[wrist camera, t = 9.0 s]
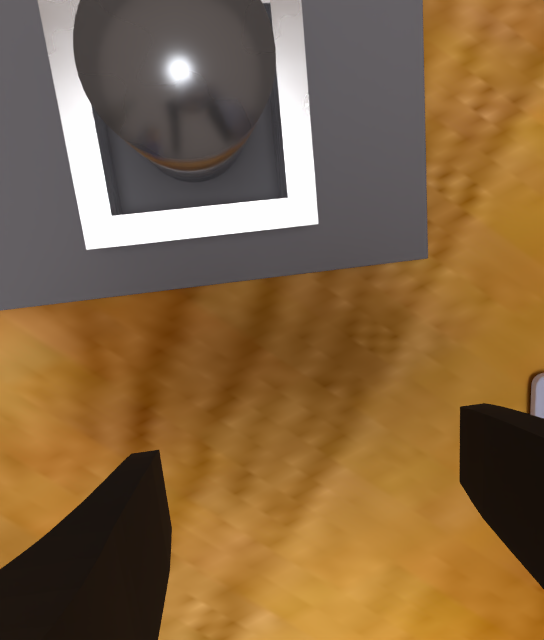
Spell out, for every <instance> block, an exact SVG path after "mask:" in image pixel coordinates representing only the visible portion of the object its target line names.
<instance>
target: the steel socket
mask: <svg viewBox="0 0 544 640" xmlns="http://www.w3.org/2000/svg"><path fill="white" fill-rule="evenodd" d="M261 1H262V3H263V5H264V7H265V9H266V12H267V14H268V17H269V19H270V23H271V27H272V30H273V34H274V41H275V47H276V68H275V77H274V82H273V87H272V91H271V93H270V104H271V114H272V125H273V136H274V146H275V157H276V167H277V178H278V188H279V199H272V200H262V201H253V202H243V203H234V204H224V205H214V206H205V207H195V208H185V209H176V210H166V211H157V212H147V213H137V214H128V215H122V212H121V206H120V200H119V195H118V189H117V183H116V178H115V172H114V166H113V160H112V155H111V149H110V143H109V138H108V132H107V126H106V123H105V122H104V121H103V120H102V119H101V118H100V116H99V115H98V114H97V112H96V111H95V109H94V108H93V106H92V105H91V103H90V101H89V100H88V98H87V96H86V94H85V92H84V90H83V87H82V84H81V82H80V79H79V77H78V73H77V69H76V65H75V59H74V51H73V29H74V21H75V16H76V12H77V8H78V4H79V2H80V0H38V5H39V11H40V16H41V21H42V26H43V31H44V36H45V41H46V46H47V51H48V56H49V61H50V66H51V71H52V77H53V82H54V87H55V92H56V97H57V102H58V107H59V112H60V117H61V122H62V127H63V132H64V137H65V143H66V148H67V153H68V158H69V163H70V168H71V173H72V178H73V183H74V188H75V193H76V198H77V204H78V209H79V214H80V219H81V224H82V229H83V234H84V239H85V244H86V249H87V250H88V249H97V248H106V247H115V246H124V245H133V244H142V243H151V242H160V241H169V240H178V239H187V238H196V237H205V236H214V235H223V234H232V233H241V232H250V231H259V230H268V229H277V228H286V227H295V226H304V225H313V224H318V212H317V199H316V186H315V173H314V160H313V147H312V134H311V121H310V107H309V94H308V81H307V68H306V55H305V42H304V29H303V16H302V3H301V0H261Z"/></svg>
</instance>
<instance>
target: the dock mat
mask: <svg viewBox="0 0 544 640" xmlns="http://www.w3.org/2000/svg"><path fill="white" fill-rule="evenodd" d="M301 3H302V16H303V29H304V42H305V55H306V68H307V81H308V94H309V107H310V121H311V134H312V147H313V160H314V173H315V186H316V199H317V212H318V224H313V225H304V226H295V227H286V228H277V229H268V230H259V231H250V232H241V233H232V234H223V235H214V236H205V237H196V238H187V239H178V240H169V241H160V242H151V243H142V244H133V245H124V246H115V247H106V248H97V249H88V250H87V249H86V244H85V239H84V234H83V229H82V224H81V219H80V214H79V209H78V204H77V198H76V193H75V188H74V183H73V178H72V173H71V168H70V163H69V158H68V153H67V148H66V143H65V137H64V132H63V127H62V122H61V117H60V112H59V107H58V102H57V97H56V92H55V87H54V82H53V77H52V71H51V66H50V61H49V56H48V51H47V46H46V41H45V36H44V31H43V26H42V21H41V16H40V11H39V5H38V0H0V310H8V309H16V308H24V307H32V306H41V305H49V304H57V303H65V302H73V301H82V300H90V299H98V298H106V297H114V296H123V295H131V294H139V293H147V292H156V291H164V290H172V289H180V288H188V287H197V286H205V285H213V284H221V283H229V282H238V281H246V280H254V279H262V278H270V277H279V276H287V275H295V274H303V273H312V272H320V271H328V270H336V269H344V268H353V267H361V266H369V265H377V264H385V263H394V262H402V261H410V260H418V259H426V258H428V239H427V192H426V144H425V96H424V49H423V1H422V0H301ZM106 126H107V124H106ZM107 132H108V138H109V143H110V149H111V155H112V160H113V166H114V172H115V178H116V183H117V189H118V195H119V200H120V206H121V212H122V215H128V214H137V213H147V212H157V211H166V210H176V209H185V208H195V207H205V206H214V205H224V204H234V203H243V202H253V201H262V200H272V199H279V188H278V178H277V167H276V157H275V146H274V136H273V125H272V114H271V104H270V96H269V99H268V102H267V104H266V106H265V108H264V110H263V112H262V114H261V116H260V118H259V120H258V121H257V123H256V125H255V127H254V129H253V131H252V132H251V134H250V136H249V138H248V140H247V142H246V143H245V145H244V147H243V149H242V151H241V153H240V154H239V156H238V158H237V159H236V161H235V162H234V163H233V165H232V166H231V167H230V168H229V169H228V170H226V171H225V172H224V173H223V174H221V175H219V176H218V177H215V178H213V179H210V180H207V181H202V182H185V181H181V180H177V179H175V178H172V177H170V176H168V175H166V174H164V173H163V172H162V171H160V170H159V169H158V168H156V167H155V166H154V165H153V164H152V163H150V162H149V161H148V160H147V159H146V158H144V157H143V156H142V155H141V154H140V153H138V152H137V151H136V150H135V149H134V148H132V147H131V146H130V145H129V144H128V143H126V142H125V141H124V140H123V139H122V138H121V137H119V136H118V135H117V134H116V133H115V132H114V131H113V130H112V129H110V128H109V127H108V126H107Z"/></svg>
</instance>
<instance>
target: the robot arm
mask: <svg viewBox="0 0 544 640" xmlns="http://www.w3.org/2000/svg"><path fill="white" fill-rule="evenodd" d="M460 483H461V485H462V487H463V488H464V490H465V491H466V493H467V495H468V496H469V498H470V500H471V501H472V503H473V504H474V506H475V507H476V509H477V510H478V512H479V513H480V515H481V516H482V518H483V519H484V520H485V521H486V522H487V524H488V525H489V526H490V527H491V528H492V530H493V531H494V532H495V533H496V534H497V536H498V537H499V538H500V539H501V540H502V541H503V543H504V544H505V545H506V546H507V547H508V548H509V550H510V551H511V552H512V553H513V554H514V555H515V557H516V558H517V559H518V560H519V561H520V562H521V563H522V565H523V566H524V567H525V568H526V569H527V570H528V572H529V573H530V574H531V575H532V576H533V577H534V578H535V580H536V581H537V582H538V583H539V584H540V585H541V587H542V588H543V589H544V373H541V374H538V375H537V376H535V377H534V379H533V381H532V384H531V411H530V414H527V413H524V412H520V411H516V410H513V409H509V408H505V407H501V406H496V405H491V404H485V403H483V404H476V405H469V406H462V407H460ZM171 534H172V527H171V520H170V514H169V508H168V502H167V496H166V490H165V483H164V477H163V471H162V465H161V459H160V453H159V450H154V451H147V452H140V453H133V454H131V455H130V456H129V457H127V458H126V459H125V460H124V461H123V462H122V463H121V464H120V465H119V466H118V467H117V468H116V469H115V470H114V471H113V472H112V473H111V474H110V475H109V476H108V477H107V478H106V479H105V480H104V481H103V482H102V483H101V484H100V485H99V486H98V487H97V488H96V489H95V490H94V491H93V492H92V493H91V494H90V495H89V496H88V497H87V498H86V499H85V500H84V501H83V502H82V503H81V504H80V505H79V506H78V507H76V508H75V509H74V510H73V511H72V512H71V513H70V514H69V515H67V516H66V517H65V518H64V519H63V520H62V521H61V522H60V523H59V524H57V525H56V526H55V527H54V528H53V529H52V530H51V531H50V532H48V533H47V534H46V535H45V536H43V537H42V538H41V539H40V540H39V541H37V542H36V543H35V544H33V545H32V546H31V547H30V548H28V549H27V550H26V551H24V552H23V553H22V554H20V555H19V556H18V557H16V558H15V559H14V560H12V561H11V562H10V563H8V564H7V565H6V566H4V567H3V568H1V569H0V640H158V636H159V630H160V625H161V619H162V613H163V608H164V602H165V596H166V590H167V584H168V578H169V572H170V557H171Z"/></svg>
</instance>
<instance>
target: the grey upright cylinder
mask: <svg viewBox="0 0 544 640" xmlns="http://www.w3.org/2000/svg"><path fill="white" fill-rule="evenodd" d="M73 51H74V59H75V65H76V69H77V73H78V77H79V79H80V82H81V84H82V87H83V90H84V92H85V94H86V96H87V98H88V100H89V101H90V103H91V105H92V106H93V108H94V109H95V111H96V112H97V114H98V115H99V116H100V118H101V119H102V120H103V121H104V122H105V123H106V124H107V126H108V127H109V128H110V129H112V130H113V131H114V132H115V133H116V134H117V135H118V136H119V137H121V138H122V139H123V140H124V141H125V142H126V143H128V144H129V145H130V146H131V147H132V148H134V149H135V150H136V151H137V152H138V153H140V154H141V155H142V156H143V157H144V158H146V159H147V160H148V161H149V162H150V163H152V164H153V165H154V166H155V167H156V168H158V169H159V170H160V171H162V172H163V173H164V174H166V175H168V176H170V177H172V178H175V179H177V180H181V181H185V182H202V181H207V180H210V179H213V178H215V177H218V176H219V175H221V174H223V173H224V172H225V171H226V170H228V169H229V168H230V167H231V166H232V165H233V163H234V162H235V161H236V159H237V158H238V156H239V154H240V153H241V151H242V149H243V147H244V145H245V143H246V142H247V140H248V138H249V136H250V134H251V132H252V131H253V129H254V127H255V125H256V123H257V121H258V120H259V118H260V116H261V114H262V112H263V110H264V108H265V106H266V104H267V102H268V99H269V96H270V93H271V91H272V87H273V82H274V77H275V68H276V47H275V41H274V34H273V30H272V27H271V23H270V19H269V17H268V14H267V12H266V9H265V7H264V5H263V3H262V1H261V0H80V2H79V4H78V8H77V12H76V16H75V21H74V29H73Z"/></svg>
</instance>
